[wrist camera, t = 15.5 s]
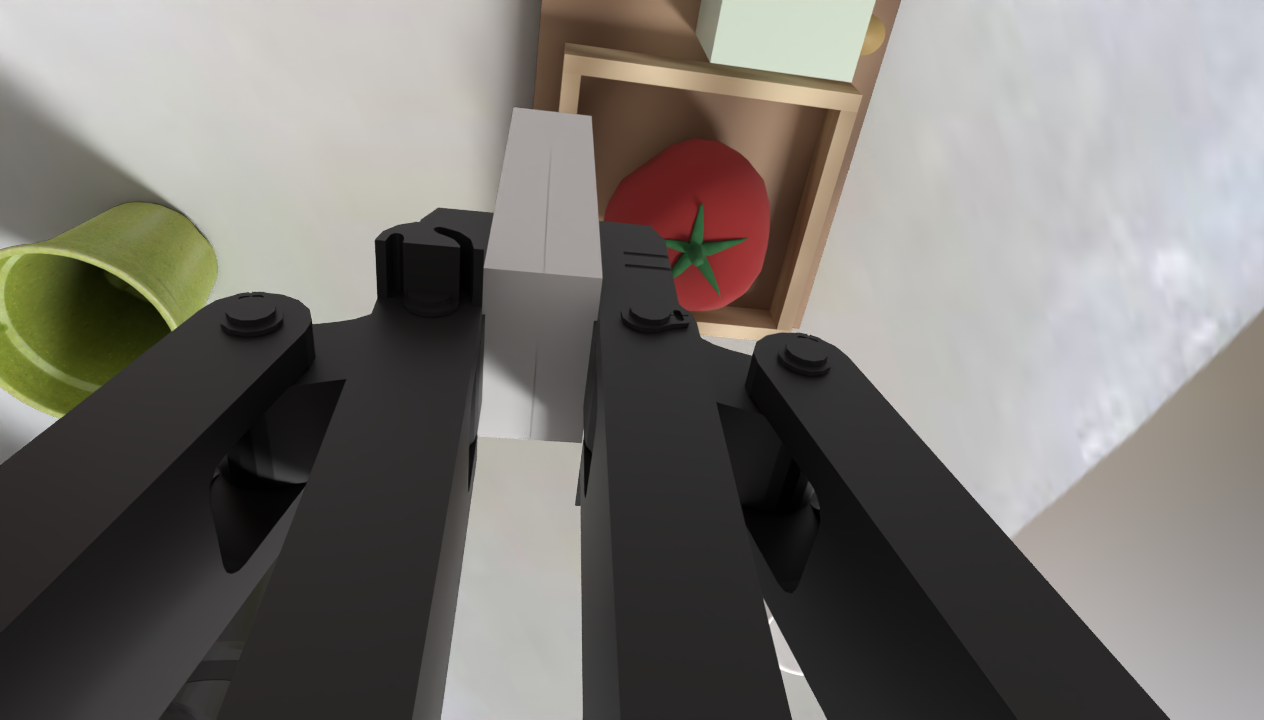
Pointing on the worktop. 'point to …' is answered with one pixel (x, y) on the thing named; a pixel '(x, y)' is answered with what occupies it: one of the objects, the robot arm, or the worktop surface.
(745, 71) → the housing base
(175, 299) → the plant pot
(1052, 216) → the worktop surface
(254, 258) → the worktop surface
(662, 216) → the tomato
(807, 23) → the block
